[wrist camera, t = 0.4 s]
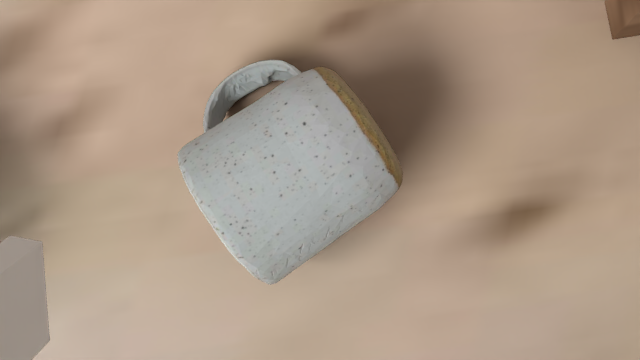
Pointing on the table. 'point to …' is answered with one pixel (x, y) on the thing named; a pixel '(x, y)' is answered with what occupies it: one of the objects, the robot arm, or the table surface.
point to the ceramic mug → (287, 166)
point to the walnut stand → (623, 17)
